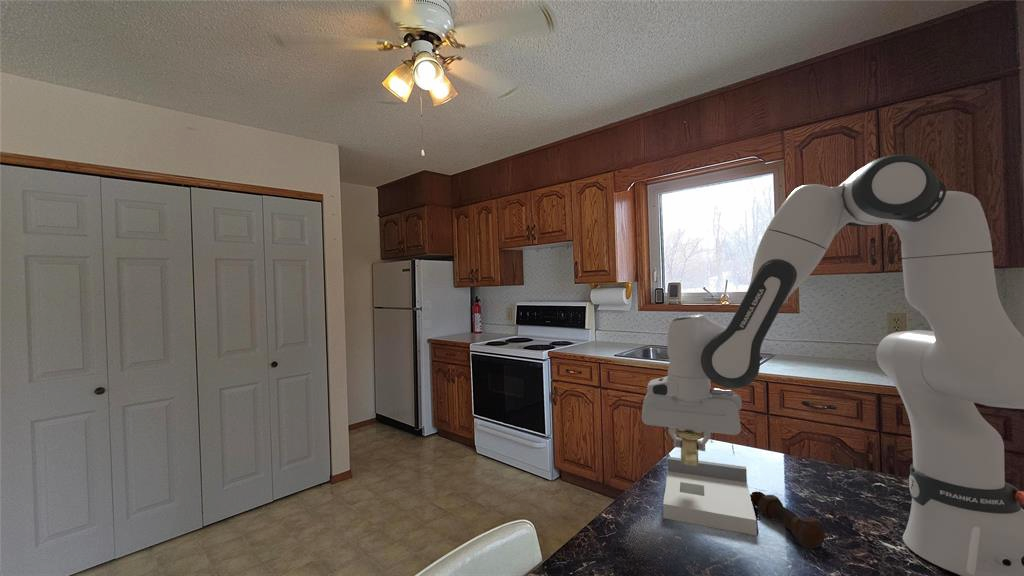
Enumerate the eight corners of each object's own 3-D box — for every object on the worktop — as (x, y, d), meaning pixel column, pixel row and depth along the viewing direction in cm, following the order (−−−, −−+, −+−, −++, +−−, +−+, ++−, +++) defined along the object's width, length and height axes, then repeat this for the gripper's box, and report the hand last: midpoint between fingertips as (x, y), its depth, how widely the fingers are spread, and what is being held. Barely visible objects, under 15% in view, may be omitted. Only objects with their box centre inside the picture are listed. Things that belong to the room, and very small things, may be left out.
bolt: (759, 514, 91) (817, 555, 77) (740, 504, 91) (795, 544, 76) (770, 489, 92) (830, 526, 77) (751, 480, 91) (808, 514, 77)
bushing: (702, 459, 95) (701, 428, 95) (702, 468, 90) (702, 436, 90) (677, 456, 97) (677, 425, 97) (676, 465, 92) (676, 433, 92)
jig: (746, 492, 97) (745, 466, 97) (756, 535, 81) (756, 504, 81) (668, 480, 104) (667, 456, 104) (663, 518, 87) (662, 489, 87)
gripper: (740, 387, 92) (740, 450, 92) (643, 380, 100) (644, 437, 100) (743, 394, 86) (743, 461, 86) (640, 386, 95) (641, 446, 95)
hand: (689, 448), depth 93 cm, fingers closed on bushing, 4 cm apart
